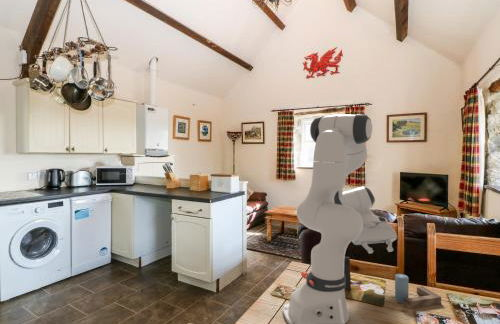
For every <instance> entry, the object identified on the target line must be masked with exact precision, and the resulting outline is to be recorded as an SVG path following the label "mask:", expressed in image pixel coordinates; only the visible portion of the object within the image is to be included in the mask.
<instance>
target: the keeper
mask: <svg viewBox="0 0 500 324" xmlns="http://www.w3.org/2000/svg"><path fill="white" fill-rule="evenodd" d="M394 276H395V277H394V299H395V301H396V302H398V303H401V304H405V299H406V298H409V280H410V278H409V276H408V275H406V274H402V273H395V275H394Z"/></svg>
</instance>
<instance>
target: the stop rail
mask: <svg viewBox="0 0 500 324" xmlns="http://www.w3.org/2000/svg"><path fill="white" fill-rule="evenodd" d="M416 294H417V295H420V296H415V297H408V298H406V299H405V303H404V305H405V306H406V307H407V308H408V309H414V308H415V309H416V308H421V307H429V306H430V307H431V306H435V305H441V304H442V296H440V295H438V294H437V293H434V291H432V290H430V289H428V288H426V287H424V286H423V285H421V286H416Z"/></svg>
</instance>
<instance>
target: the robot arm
mask: <svg viewBox="0 0 500 324" xmlns="http://www.w3.org/2000/svg"><path fill="white" fill-rule="evenodd" d="M309 129H310V130H309V131H310V132H309V133H310V137H311V139H312V141H314V143H315V145H314V151H313V159H312V160H313V163H312V164H313V165H312V176H311V177H312V178H311V185H310V189H309V191H308V194H307V195H306V197H305V199H303V201H301V202H300V203H299V205H298V207H297V210H296V217H297V220H298V221H299V223H300V224H302V225H303V226H304V227H306V228H307V229H309V230H312V231H315V232H318V233H320V234H321V235H320V236H321V239H320V241H319V243H318V244H316V245H314V246H313V247H312V249H311V252H310V265H311V266H310V271H309V273H308V272H306V271H305V270H303V271H302V272H301V274H300V275H301V276H302V278H303V279H304V280H305V282H304V283H303V284H302V285H300V286H299V287H298V288H297V289H295V290H294V291H293V292H292V293H291V295H290V297H289V302H288V303H286V304H284V305H283V308H282V312H283V313H282V314H283V317H284V318H285V321H286V322H287V323H288V324H347V323H348V321H349V319H350V313H349V310H348V306H347V301H346V293H345V291H346V289H345V287H346V279H345V274H344V259H345V256H346V251H347V248H348V246H349V244H350V243H353V245H355V246H362V248H364V249H365V250H366V251H367V253H368V254H373V253H374V250H373V247H370V246H369V245H370V244H382V243H385V244H386V245H387V247H386V250H387V252H388V253H390V252H393V251H394V248H393V242H395V241H396V240H397V238H398V236H397V233H396V231H395V229H394V228H393V227H392V225H391V224H390V223H388V222H389V221H388V218H386V217H384V216H383V217H382V216H379V215H376V214H374V212H373V211H372V210H371V209H372V208H373V206H374V204H375V200H376V199H375V196H374V194H373V193H372V191H371V189H370V188H368V187H366V186H360V187H356V188H352V189H349V190H345V191H343V189H344V187H345V186H346V181H347V177H348V175H350V174H351V173H353V172H355V171H357V170H358V169H360V168H361V167H362V166H363V165H364V163H365V162H366V160H367V156H368V154H367V153H368V150H367V145H366V143H367V142H368V141H369V140H370V139H371V136H372V134H373V123H372V120H371V118H370V117H369V116H368V115H367V114H363V113H362V114H361V113H357V114H351V113H350V114H348V113H347V114H339V113H338V114H331V115H326V116H324V115H322V116H319V117H315V118H314V119H313V120H312V122H311V124H310V128H309Z"/></svg>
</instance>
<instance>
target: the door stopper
mask: <svg viewBox="0 0 500 324" xmlns="http://www.w3.org/2000/svg"><path fill="white" fill-rule="evenodd" d="M350 259H351V258H350V256H347V255H345V259H344V274H345V279H346V287H345V290H347V289H349V290H350V291H351V290H352V283H351V260H350ZM349 290H348V291H349Z"/></svg>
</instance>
